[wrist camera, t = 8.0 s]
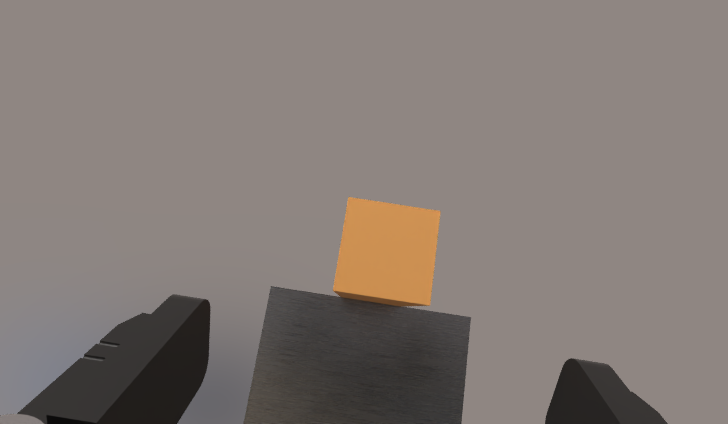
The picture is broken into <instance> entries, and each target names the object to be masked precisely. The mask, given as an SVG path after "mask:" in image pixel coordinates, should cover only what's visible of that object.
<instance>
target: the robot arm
mask: <svg viewBox="0 0 728 424" xmlns="http://www.w3.org/2000/svg"><path fill="white" fill-rule="evenodd" d="M209 332H210V303H209V301H208V300H206V299H200V298H193V297H187V296H180V295H172V296H170V297H169V298H168V299H167V300H166V301H165V302H164V303H162V304H161V305H160V307H158V308H157V309H156V310H155V311H154V312H153V313H152V314H146V313H142V314H140V315H138V316H135V317H133V318H131V319H129V320H127V321H125V322H123V323H121V324H119V325H117V326H116V327H115V328H114V329H113V330H112V331H111V332H110V333H108V334H107V335H106V336H105V337H104V338H103V339H101V340H100V343H99V344H96V345H95V346H93V347H92V348H91V349H90V350H89V351H88V352H87V353H85V354H84V357H83V358H80V359H79V360H78V361H76V362H75V363H74V364H73V365H72V366H71V367H70V368H68V369H67V370H66V371H65V372H64V373H63V374H62V375H61V376H59V377H58V378H57V379H56V380H55V381H54V382H53V383H51V384H50V385H49V386H48V387H47V388H46V389H45V390H43V391H42V392H41V393H40V394H39V395H38V396H37V397H36V398H34V399H33V400H32V401H31V402H30V403H29V404H28V405H26V406H25V407H24V408H23V409H22V410H21V411H20V412H18V413H17V414H9V415H0V424H177V423H178V421H179V420H180V418H181V416H182V415H183V413H184V411H185V410H186V408H187V407H188V405H189V404H190V402H191V401H192V399H193V397H194V396H195V394H196V392H197V391H198V389H199V388H200V386H201V384H202V382H203V379H204V376H205V373H206V369H207V364H208V357H209ZM545 424H667V422H666V421H665V420H664V419H663V418H662V416H661V415H660V414H659V413H658V412H657V411H656V410H655V409H653V408H652V407H651V406H650V405H648V404H647V403H646V402H645V401H643V400H642V399H641V398H640V397H638V396H637V395H636V394H634V393H633V392H630V391H629V389H628V388H627V387H626V385H625V384H624V383H623V382H622V380H621V379H620V378H619V377H618V375H617V374H616V373H615V371H614V370H613V369H612V368H611V367H610V366H609V365H607V364H604V363H597V362H591V361H585V360H578V359H569V360H567V361H566V362H565V364H564V365H563V368H562V370H561V373H560V376H559V379H558V382H557V385H556V388H555V391H554V394H553V397H552V400H551V403H550V406H549V408H548V412H547V415H546V422H545Z"/></svg>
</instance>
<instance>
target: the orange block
mask: <svg viewBox="0 0 728 424" xmlns="http://www.w3.org/2000/svg"><path fill="white" fill-rule="evenodd" d="M439 220H440V211H436V210H429V209H423V208H417V207H410V206H403V205H397V204H391V203H384V202H377V201H371V200H364V199H358V198H351V197H349V198H348V203H347V209H346V216H345V221H344V227H343V234H342V239H341V246H340V252H339V257H338V264H337V270H336V276H335V282H334V288H333V291H334V292H335V293H337V294H338V295H339V296H340V297H343V298H349V299H356V300H362V301H369V302H375V303H382V304H388V305H394V306H429V305H430V301H431V292H432V283H433V274H434V265H435V256H436V247H437V238H438V229H439Z"/></svg>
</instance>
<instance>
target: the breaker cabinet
mask: <svg viewBox="0 0 728 424" xmlns="http://www.w3.org/2000/svg"><path fill="white" fill-rule="evenodd" d="M470 320H471V318H470V317H465V316H459V315H452V314H446V313H439V312H433V311H426V310H420V309H414V308H407V307H401V306H394V305H388V304H382V303H375V302H369V301H362V300H356V299H349V298H343V297H336V296H330V295H324V294H317V293H311V292H304V291H297V290H291V289H284V288H279V287H272V286H271V289H270V294H269V299H268V304H267V309H266V314H265V319H264V324H263V329H262V334H261V339H260V344H259V349H258V354H257V359H256V364H255V369H254V374H253V379H252V384H251V389H250V394H249V399H248V404H247V409H246V414H245V419H244V424H461V421H462V410H463V398H464V387H465V376H466V365H467V354H468V342H469V331H470Z"/></svg>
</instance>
